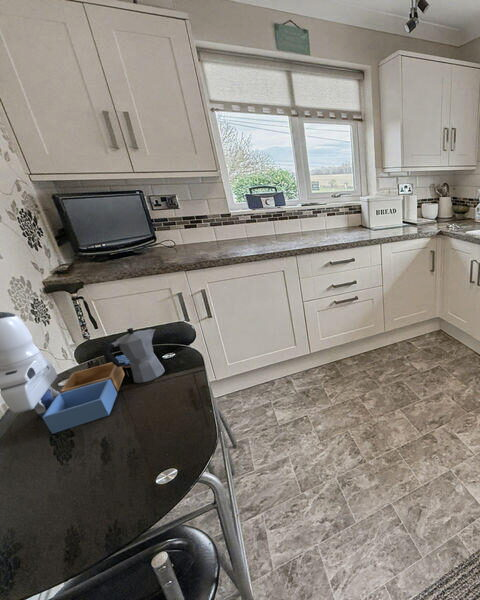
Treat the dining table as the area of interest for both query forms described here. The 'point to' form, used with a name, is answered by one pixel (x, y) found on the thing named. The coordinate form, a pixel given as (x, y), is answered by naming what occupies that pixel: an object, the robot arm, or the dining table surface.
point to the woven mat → (123, 359)
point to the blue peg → (46, 400)
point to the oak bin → (95, 377)
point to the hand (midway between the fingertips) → (46, 406)
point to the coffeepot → (137, 355)
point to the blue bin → (80, 406)
